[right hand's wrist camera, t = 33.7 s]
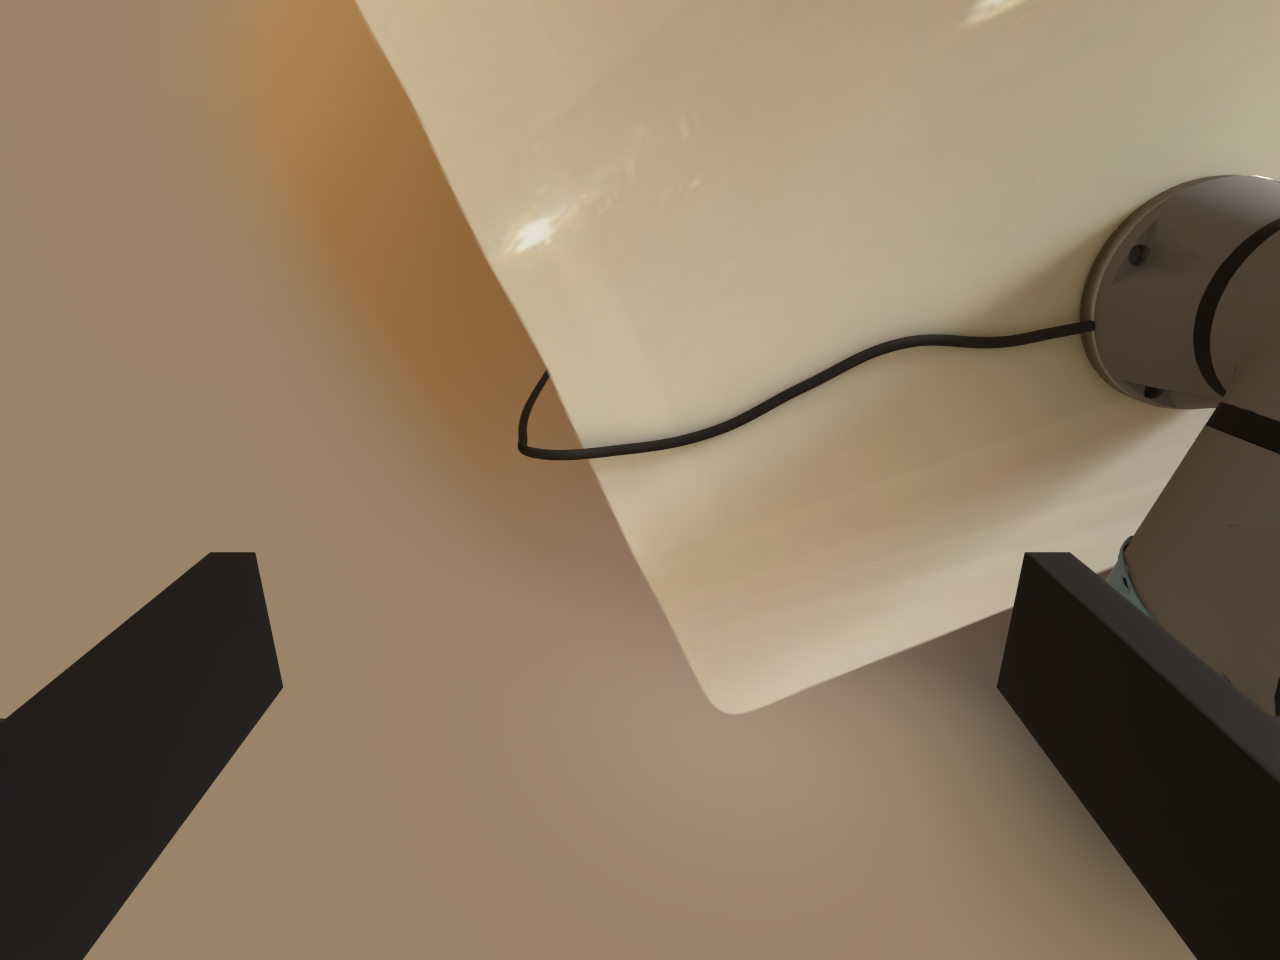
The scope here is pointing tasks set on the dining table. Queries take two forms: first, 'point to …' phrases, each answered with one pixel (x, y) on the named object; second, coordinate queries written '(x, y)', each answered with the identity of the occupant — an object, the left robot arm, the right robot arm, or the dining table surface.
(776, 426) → the dining table surface
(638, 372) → the dining table surface
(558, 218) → the dining table surface
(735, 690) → the dining table surface
